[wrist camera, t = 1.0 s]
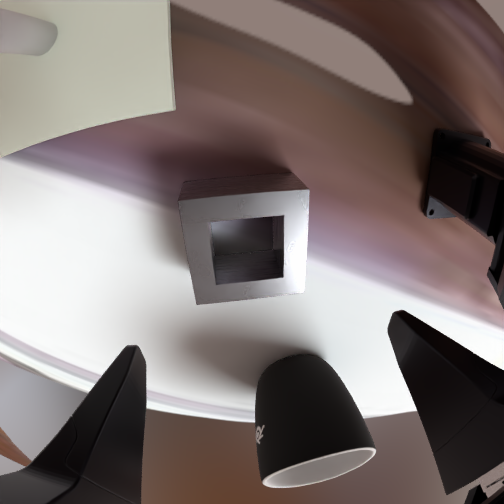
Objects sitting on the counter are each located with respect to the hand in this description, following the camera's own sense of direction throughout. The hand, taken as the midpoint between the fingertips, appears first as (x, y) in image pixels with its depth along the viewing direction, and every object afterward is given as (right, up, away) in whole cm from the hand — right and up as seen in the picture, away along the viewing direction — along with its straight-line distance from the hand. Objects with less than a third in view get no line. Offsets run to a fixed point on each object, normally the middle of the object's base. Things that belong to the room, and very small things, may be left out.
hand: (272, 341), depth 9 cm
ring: (-1, +4, +8) cm, 9 cm away
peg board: (-11, +15, 0) cm, 18 cm away
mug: (+3, -10, +17) cm, 20 cm away
